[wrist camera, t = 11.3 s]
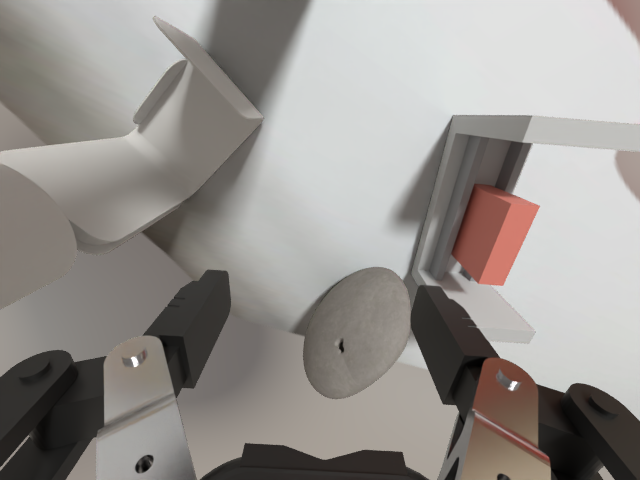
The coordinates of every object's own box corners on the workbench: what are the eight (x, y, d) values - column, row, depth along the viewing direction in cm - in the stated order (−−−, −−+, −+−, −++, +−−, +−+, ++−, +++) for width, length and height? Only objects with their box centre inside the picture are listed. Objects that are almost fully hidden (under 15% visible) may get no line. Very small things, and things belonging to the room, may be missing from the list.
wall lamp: (266, 117, 34) (34, 129, 7) (170, 219, 40) (-150, 439, 13) (201, 42, 30) (-806, -548, 3) (107, 166, 37) (-502, 315, 10)
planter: (323, 324, 49) (323, 436, 32) (295, 303, 47) (279, 410, 30) (402, 263, 43) (453, 360, 26) (373, 236, 41) (409, 322, 24)
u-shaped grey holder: (453, 115, 33) (532, 115, 21) (530, 121, 33) (655, 125, 21) (410, 273, 44) (446, 338, 31) (469, 277, 44) (528, 343, 31)
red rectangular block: (467, 183, 35) (511, 203, 27) (489, 184, 35) (539, 206, 27) (446, 248, 39) (478, 283, 31) (466, 250, 39) (502, 285, 31)
